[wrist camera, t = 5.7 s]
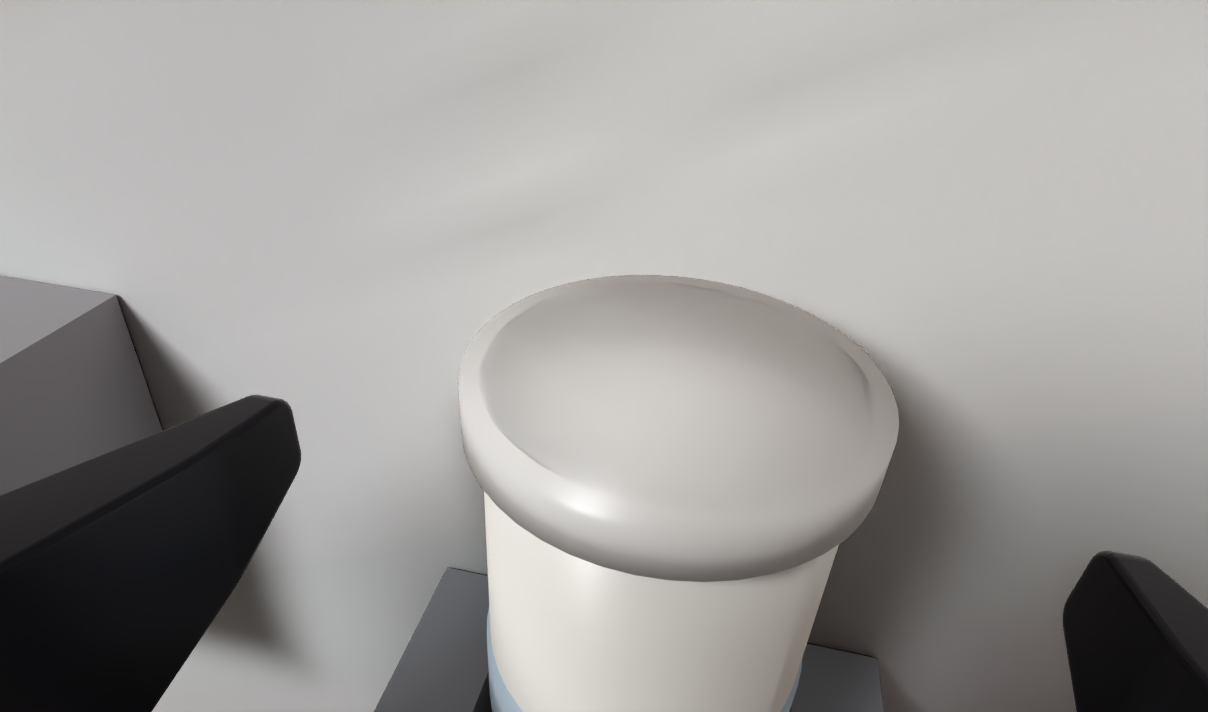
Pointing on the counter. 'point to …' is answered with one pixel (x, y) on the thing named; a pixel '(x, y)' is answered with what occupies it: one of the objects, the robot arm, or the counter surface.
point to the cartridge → (664, 490)
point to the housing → (461, 680)
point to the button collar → (65, 380)
